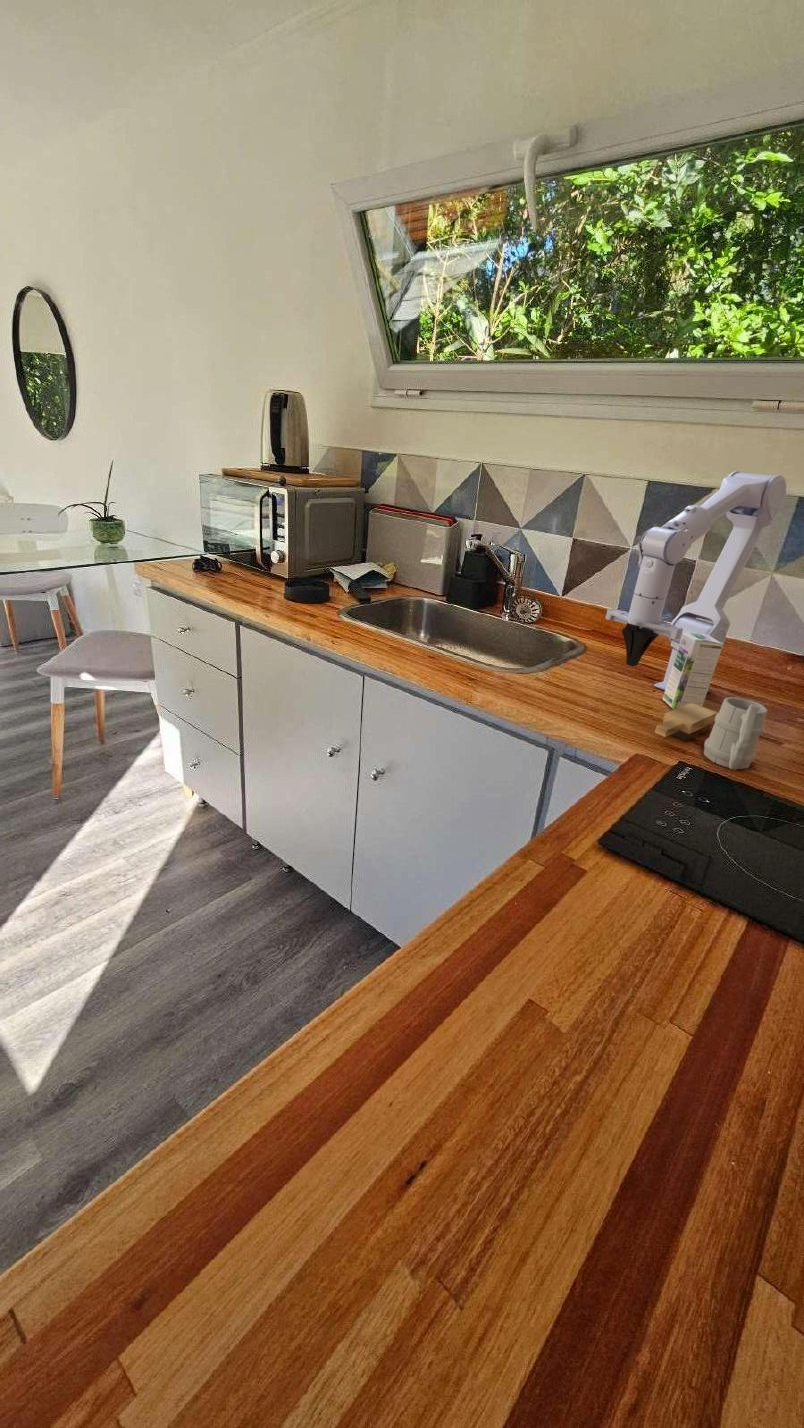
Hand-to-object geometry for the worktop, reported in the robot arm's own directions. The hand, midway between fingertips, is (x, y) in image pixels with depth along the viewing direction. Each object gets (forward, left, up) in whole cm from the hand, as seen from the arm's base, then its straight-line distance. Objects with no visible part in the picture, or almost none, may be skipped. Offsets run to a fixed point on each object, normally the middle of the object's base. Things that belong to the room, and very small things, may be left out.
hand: (631, 664), depth 116 cm
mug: (+8, +24, -8) cm, 27 cm away
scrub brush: (+4, +14, -8) cm, 17 cm away
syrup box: (-10, +7, -8) cm, 15 cm away
